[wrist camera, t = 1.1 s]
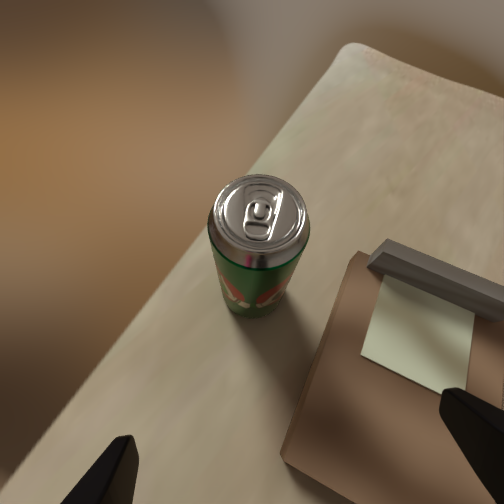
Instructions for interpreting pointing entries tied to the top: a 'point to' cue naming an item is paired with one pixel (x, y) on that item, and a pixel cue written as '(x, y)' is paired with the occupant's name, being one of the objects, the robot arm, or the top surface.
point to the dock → (398, 380)
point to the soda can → (257, 241)
